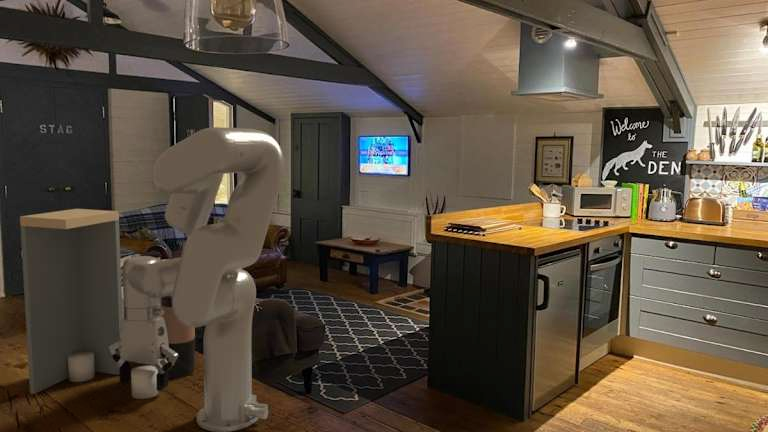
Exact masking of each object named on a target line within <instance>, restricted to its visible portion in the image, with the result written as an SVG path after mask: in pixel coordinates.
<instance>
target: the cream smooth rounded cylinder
mask: <svg viewBox="0 0 768 432" xmlns="http://www.w3.org/2000/svg"><path fill="white" fill-rule="evenodd" d="M158 373H159V372H158V370H157V369H156V367H155V366H154V365H142V366H141V365H140V366H137V367H134V368H133V369H131V380H130V383H131V386H130V387H131V388H130V389H131V397H132V398H134V399H137V400H145V399H150V398H153V397H155V396H156V395H158V394H159V391H158V390H157V378H156V375H157V374H158Z"/></svg>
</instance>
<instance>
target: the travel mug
mask: <svg viewBox="0 0 768 432" xmlns="http://www.w3.org/2000/svg"><path fill="white" fill-rule="evenodd" d="M161 308H162V309H163V310H164V314H163V315H162V317H164V320H165V324H166V329H167V335H168V345H169V348H170V349H172V350H173V351H175V352H176V353H177V354H178V358H177V360H176V362H175V364H174V365H173V366H172V367H171V369H170V370H168V378H184V377H187V376H190V375H193V373H195V366H196V365H195V363H196V362H195V361H196V360H195V357H196V356H195V354H196V331H195V330H196V327H187V326H184V325H183V324H181V323H180V322H179V321H178V320H177V319H176V317H175V315H174V312H173V309H172V295H169V296H166V297H162V298H161ZM165 359H166V360H167V362H168V360H169V358H168V357H167V358H165Z"/></svg>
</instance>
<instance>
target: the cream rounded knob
mask: <svg viewBox="0 0 768 432" xmlns="http://www.w3.org/2000/svg"><path fill="white" fill-rule="evenodd" d="M68 374H69V377H68V381H70V382H72V383H79V382H80V383H81V382H82V383H83V382H87V381H89V380H92V379H94V378H95V376H96V372H95V367H94V353H93V352H90V351H81V352H76V353H73V354H70V355H69V356H68Z"/></svg>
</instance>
